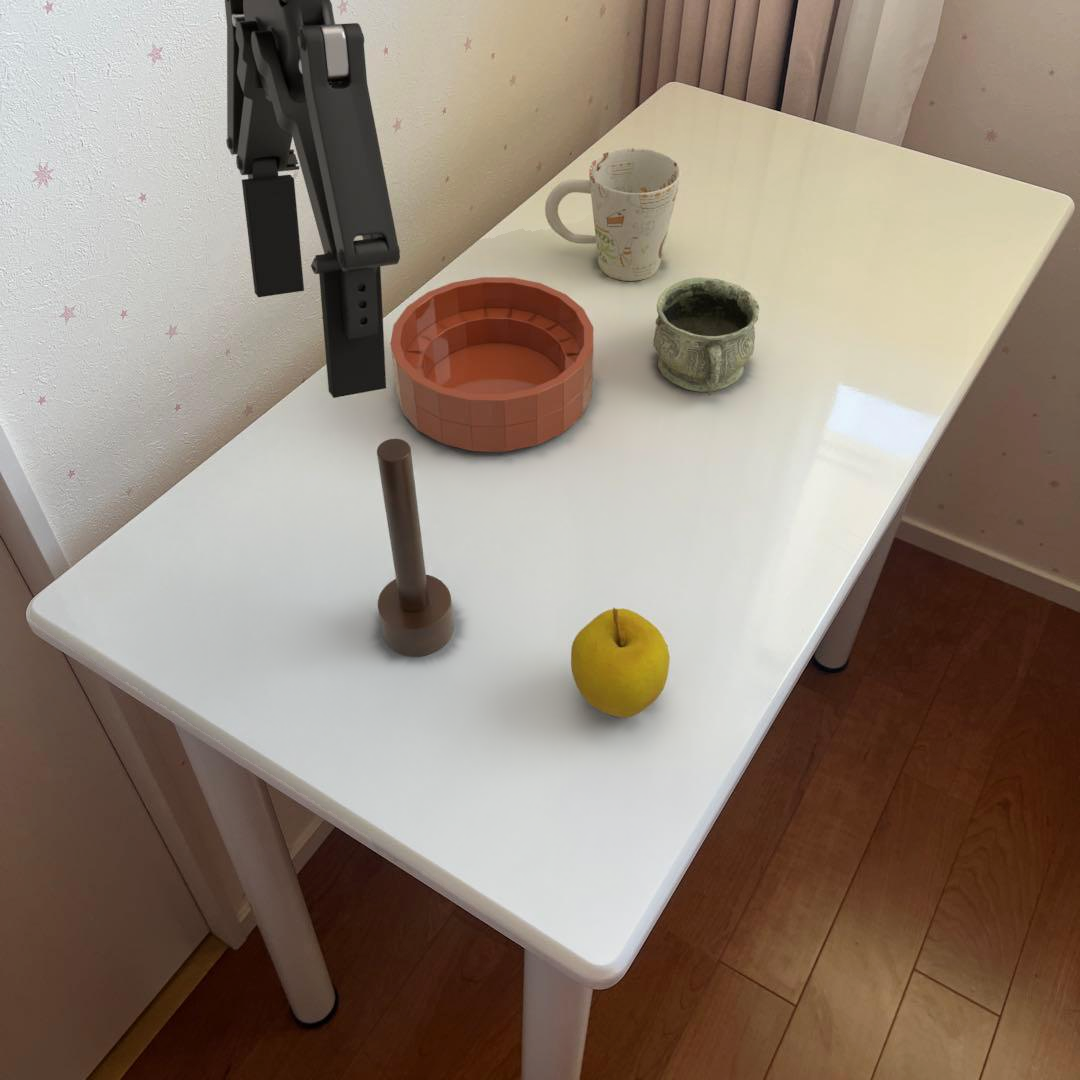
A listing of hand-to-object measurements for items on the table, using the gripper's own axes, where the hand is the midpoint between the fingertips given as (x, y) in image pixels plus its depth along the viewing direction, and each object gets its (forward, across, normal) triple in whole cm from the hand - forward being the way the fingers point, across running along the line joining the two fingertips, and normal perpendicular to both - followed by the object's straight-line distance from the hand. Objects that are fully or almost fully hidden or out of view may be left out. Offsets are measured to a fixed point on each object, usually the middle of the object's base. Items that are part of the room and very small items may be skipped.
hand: (315, 337), depth 59 cm
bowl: (+18, +23, -22) cm, 37 cm away
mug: (+14, +36, -40) cm, 55 cm away
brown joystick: (+24, +3, -6) cm, 25 cm away
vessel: (+17, +18, -40) cm, 47 cm away
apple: (+25, -9, -16) cm, 31 cm away
